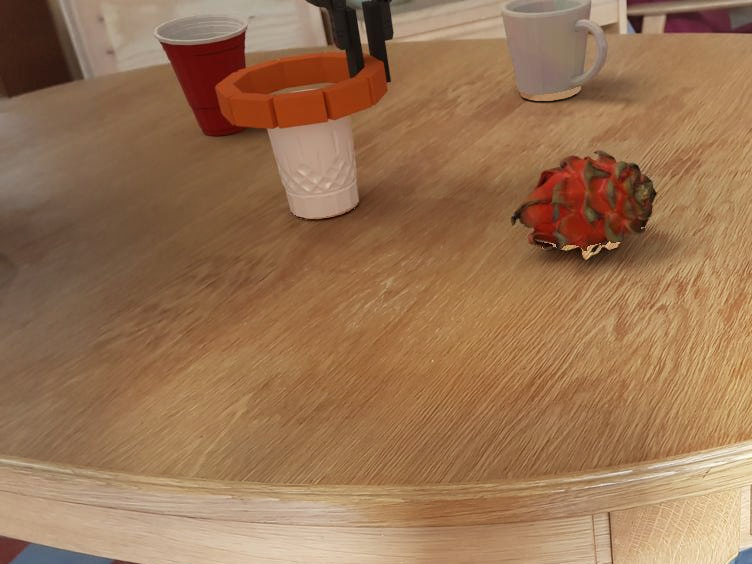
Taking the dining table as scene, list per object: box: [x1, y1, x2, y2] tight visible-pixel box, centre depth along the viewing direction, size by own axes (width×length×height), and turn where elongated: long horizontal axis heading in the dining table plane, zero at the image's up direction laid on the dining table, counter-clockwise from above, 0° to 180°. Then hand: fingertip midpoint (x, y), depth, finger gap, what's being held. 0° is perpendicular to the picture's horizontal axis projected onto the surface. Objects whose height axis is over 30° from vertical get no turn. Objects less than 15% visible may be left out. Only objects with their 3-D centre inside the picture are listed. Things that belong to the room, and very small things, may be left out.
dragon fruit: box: [510, 149, 658, 251], centre depth 77 cm, size 8×8×12 cm
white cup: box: [266, 88, 360, 218], centre depth 89 cm, size 8×8×10 cm
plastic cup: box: [152, 12, 249, 137], centre depth 112 cm, size 11×11×12 cm
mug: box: [500, 0, 609, 95], centre depth 110 cm, size 10×15×10 cm
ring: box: [215, 51, 389, 130], centre depth 85 cm, size 15×15×2 cm
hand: (370, 81), depth 88 cm, fingers closed on ring, 2 cm apart
